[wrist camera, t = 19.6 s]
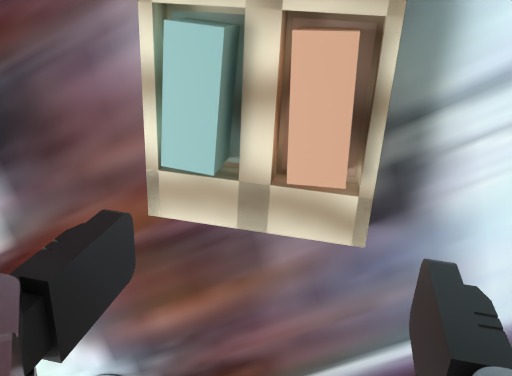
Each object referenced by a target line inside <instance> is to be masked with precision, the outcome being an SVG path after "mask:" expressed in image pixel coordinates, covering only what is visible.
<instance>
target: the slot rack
mask: <svg viewBox="0 0 512 376" xmlns="http://www.w3.org/2000/svg"><path fill="white" fill-rule="evenodd" d="M406 1H407V0H138V12H139V32H140V52H141V72H142V92H143V112H144V132H145V153H146V173H147V193H148V213H149V215H152V216H158V217H165V218H171V219H178V220H185V221H191V222H198V223H205V224H211V225H218V226H224V227H231V228H238V229H244V230H251V231H258V232H264V233H271V234H278V235H284V236H291V237H297V238H304V239H311V240H317V241H324V242H331V243H337V244H344V245H350V246H357V247H364V248H365V243H366V237H367V232H368V226H369V220H370V214H371V208H372V202H373V196H374V190H375V184H376V178H377V172H378V167H379V161H380V155H381V149H382V143H383V137H384V131H385V125H386V119H387V113H388V107H389V102H390V96H391V90H392V84H393V78H394V72H395V66H396V60H397V54H398V48H399V42H400V37H401V31H402V25H403V19H404V13H405V7H406ZM178 18H192V19H200V20H207V21H215V22H223V23H231V24H239V25H240V32H239V44H238V56H237V67H236V79H235V91H234V103H233V114H232V126H231V138H230V150H229V158H228V159H227V161H226V162H225V163H224V164H223V165H222V166H221V168H220V169H219V170H218V171H217V172H216V173H215V175H214V176H213V175H207V174H202V173H196V172H191V171H186V170H180V169H175V168H169V167H164V166H161V138H162V87H163V37H164V20H167V19H178ZM299 27H332V28H360V38H359V49H358V59H357V70H356V81H355V92H354V103H353V114H352V124H351V135H350V146H349V157H348V168H347V179H346V189H341V188H330V187H319V186H307V185H296V184H287V161H288V134H289V107H290V79H291V52H292V30H294V29H296V28H299Z"/></svg>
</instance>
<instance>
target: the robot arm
mask: <svg viewBox="0 0 512 376" xmlns="http://www.w3.org/2000/svg"><path fill="white" fill-rule="evenodd" d="M135 262H136V261H135V244H134V229H133V219H132V216H131V215H130V214H129V213H125V212H118V211H112V210H101V211H100V212H99V213H98V214H96V215H95V216H94V217H92V218H91V219H90V220H89V221H87V222H86V223H82V224H80V225H78V226H75V227H73V228H71V229H68V230H66V231H65V232H63V233H62V234H61V235H59V236H58V237H57V238H55V239H54V240H53V242H50V243H49V244H48V245H46V246H45V247H44V248H43V250H40V251H39V252H37V253H36V254H35V255H33V256H32V257H31V258H29V259H28V260H27V261H26V262H24V263H23V264H22V265H20V266H19V267H18V268H16V269H15V270H14V271H13V272H11V273H10V274H9V275H7V274H0V376H37V372H36V367H35V366H36V365H37V364H38V363H39V362H40V360H41V359H44V360H49V361H53V362H58V363H62V362H63V361H64V359H65V358H66V357H67V356H68V355H69V353H70V352H71V351H72V350H73V349H74V347H75V346H76V345H77V344H78V343H79V341H80V340H81V339H82V338H83V337H84V335H85V334H86V333H87V332H88V331H89V329H90V328H91V327H92V326H93V325H94V323H95V322H96V321H97V320H98V319H99V317H100V316H101V315H102V314H103V313H104V311H105V310H106V309H107V308H108V307H109V305H110V304H111V303H112V302H113V301H114V299H115V298H116V297H117V296H118V295H119V293H120V292H121V291H122V290H123V289H124V287H125V286H126V285H127V284H128V283H129V281H130V280H131V278H132V276H133V273H134V269H135ZM409 332H410V340H411V347H412V353H413V360H414V367H415V374H416V376H512V347H511V345H510V343H509V341H508V338H507V336H506V334H505V332H504V331H503V327H502V324H501V322H500V320H499V319H498V315H497V313H496V311H495V308H494V306H493V304H492V301H491V300H490V299H489V298H488V297H487V296H486V295H485V294H484V293H483V292H482V291H481V290H480V289H479V288H478V287H477V286H471V285H464V284H463V281H462V278H461V276H460V273H459V270H458V267H457V265H456V264H455V263H451V262H444V261H437V260H431V259H424V260H423V262H422V264H421V268H420V272H419V276H418V281H417V285H416V289H415V294H414V298H413V302H412V307H411V312H410V322H409ZM100 376H114V375H100Z"/></svg>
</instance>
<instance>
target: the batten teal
mask: <svg viewBox="0 0 512 376" xmlns="http://www.w3.org/2000/svg"><path fill="white" fill-rule="evenodd" d="M239 32H240V25H239V24H231V23H223V22H215V21H207V20H200V19H192V18H178V19H167V20H164V37H163V87H162V138H161V166H164V167H169V168H175V169H180V170H186V171H191V172H196V173H202V174H207V175H213V176H214V175H215V173H216V172H217V171H218V170H219V169H220V168H221V166H222V165H223V164H224V163H225V162H226V161H227V159H228V158H229V150H230V138H231V126H232V114H233V103H234V91H235V79H236V67H237V56H238V44H239Z"/></svg>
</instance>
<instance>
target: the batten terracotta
mask: <svg viewBox="0 0 512 376" xmlns="http://www.w3.org/2000/svg"><path fill="white" fill-rule="evenodd" d="M359 38H360V28H332V27H299V28H296V29H294V30H292V52H291V79H290V107H289V134H288V161H287V184H296V185H307V186H319V187H330V188H341V189H346V179H347V168H348V157H349V146H350V135H351V124H352V114H353V103H354V92H355V81H356V70H357V59H358V49H359Z"/></svg>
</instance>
